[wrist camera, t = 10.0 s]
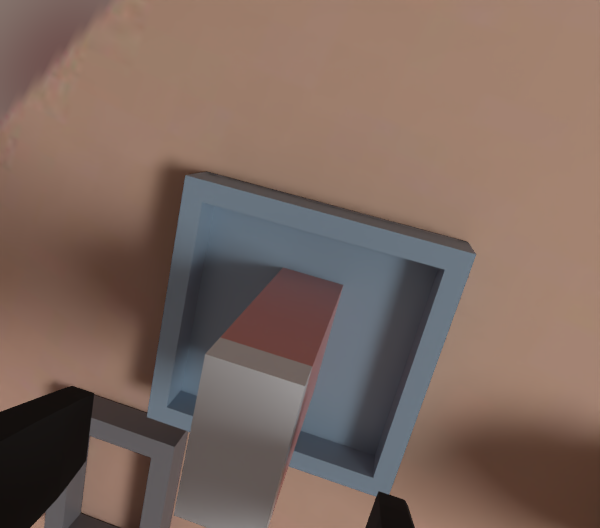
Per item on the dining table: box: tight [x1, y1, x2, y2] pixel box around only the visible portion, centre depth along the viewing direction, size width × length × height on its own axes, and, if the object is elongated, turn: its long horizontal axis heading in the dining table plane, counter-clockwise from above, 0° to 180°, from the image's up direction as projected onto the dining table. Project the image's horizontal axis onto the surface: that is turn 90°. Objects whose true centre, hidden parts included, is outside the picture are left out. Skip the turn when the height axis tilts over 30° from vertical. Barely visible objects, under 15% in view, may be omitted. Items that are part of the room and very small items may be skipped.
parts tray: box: [147, 172, 476, 496], centre depth 19 cm, size 11×11×2 cm
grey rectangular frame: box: [44, 395, 188, 528], centre depth 23 cm, size 6×8×2 cm
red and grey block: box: [174, 268, 343, 528], centre depth 16 cm, size 2×5×8 cm, turn 167°
